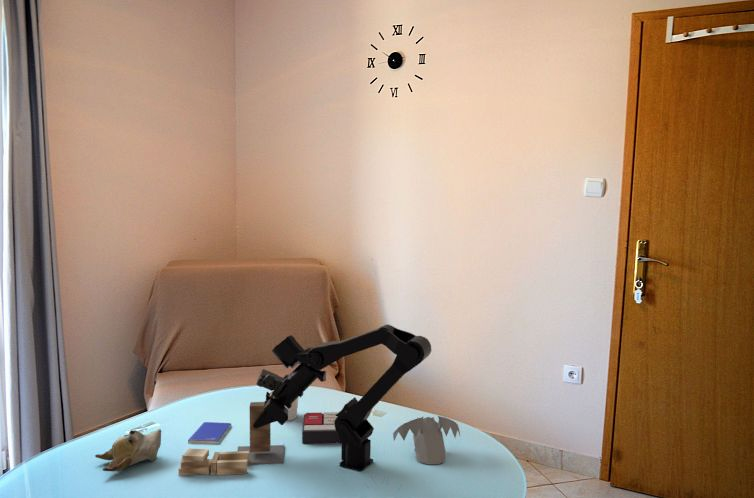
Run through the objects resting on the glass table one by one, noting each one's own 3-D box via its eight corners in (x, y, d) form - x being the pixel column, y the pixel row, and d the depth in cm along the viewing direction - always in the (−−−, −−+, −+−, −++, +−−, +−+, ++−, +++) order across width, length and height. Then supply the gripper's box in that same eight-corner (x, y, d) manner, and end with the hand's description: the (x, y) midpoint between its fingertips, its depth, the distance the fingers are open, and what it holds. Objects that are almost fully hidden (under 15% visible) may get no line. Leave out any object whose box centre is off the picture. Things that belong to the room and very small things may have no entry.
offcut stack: (212, 464, 147) (212, 446, 147) (208, 474, 142) (208, 456, 141) (182, 465, 146) (182, 447, 146) (178, 475, 141) (177, 457, 141)
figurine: (455, 442, 163) (456, 403, 162) (468, 463, 150) (469, 421, 149) (390, 445, 160) (391, 406, 159) (398, 466, 148) (399, 424, 147)
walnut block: (270, 446, 154) (270, 401, 153) (269, 451, 151) (269, 405, 150) (251, 447, 154) (250, 402, 153) (249, 452, 151) (249, 406, 150)
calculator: (341, 410, 176) (343, 428, 161) (341, 425, 176) (343, 444, 161) (304, 411, 175) (302, 428, 160) (304, 425, 175) (301, 444, 160)
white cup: (269, 414, 181) (269, 382, 180) (294, 410, 185) (294, 379, 184) (276, 423, 174) (276, 390, 173) (302, 419, 177) (302, 387, 177)
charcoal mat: (284, 446, 158) (284, 445, 158) (282, 463, 148) (282, 461, 148) (238, 447, 157) (238, 446, 157) (233, 465, 147) (233, 463, 147)
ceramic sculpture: (166, 429, 146) (100, 447, 137) (169, 463, 147) (104, 482, 138) (154, 416, 155) (92, 432, 146) (157, 448, 156) (95, 466, 147)
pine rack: (249, 462, 148) (249, 450, 148) (246, 473, 143) (246, 461, 142) (214, 463, 147) (214, 452, 147) (210, 475, 142) (210, 462, 141)
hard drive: (217, 440, 159) (231, 422, 171) (187, 439, 159) (203, 421, 172) (217, 446, 159) (231, 428, 171) (187, 444, 160) (203, 427, 172)
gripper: (277, 350, 160) (236, 391, 160) (273, 370, 142) (226, 417, 141) (306, 378, 162) (265, 418, 161) (306, 402, 143) (260, 447, 143)
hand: (254, 424), depth 152 cm, fingers closed on walnut block, 3 cm apart
